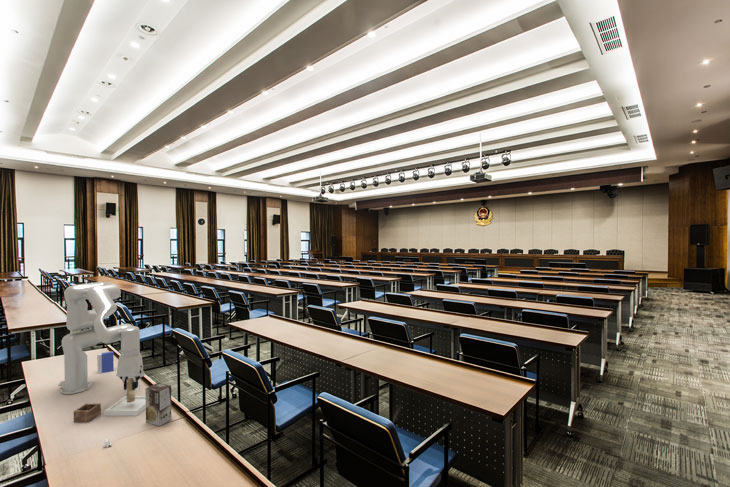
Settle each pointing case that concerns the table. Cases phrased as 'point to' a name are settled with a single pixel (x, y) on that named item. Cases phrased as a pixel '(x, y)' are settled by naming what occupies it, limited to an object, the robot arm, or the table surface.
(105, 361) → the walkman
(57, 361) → the table surface
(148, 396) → the coffee box
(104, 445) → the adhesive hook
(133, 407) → the tray
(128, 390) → the dowel
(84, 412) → the square wooden box
